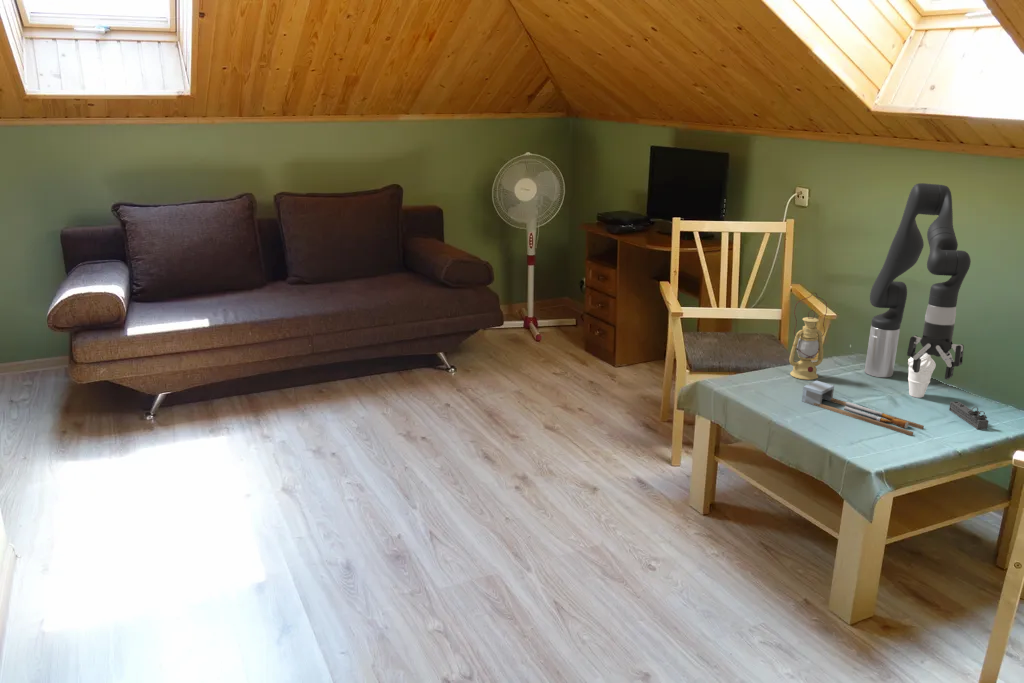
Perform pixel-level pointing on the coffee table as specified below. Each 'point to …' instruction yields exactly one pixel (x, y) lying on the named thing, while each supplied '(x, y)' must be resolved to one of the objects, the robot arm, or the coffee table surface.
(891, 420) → the chisel
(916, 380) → the soft serve ice cream cone
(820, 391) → the holder
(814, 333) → the lantern
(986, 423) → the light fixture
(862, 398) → the coffee table surface
